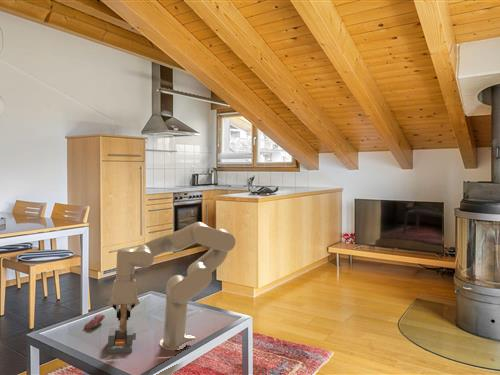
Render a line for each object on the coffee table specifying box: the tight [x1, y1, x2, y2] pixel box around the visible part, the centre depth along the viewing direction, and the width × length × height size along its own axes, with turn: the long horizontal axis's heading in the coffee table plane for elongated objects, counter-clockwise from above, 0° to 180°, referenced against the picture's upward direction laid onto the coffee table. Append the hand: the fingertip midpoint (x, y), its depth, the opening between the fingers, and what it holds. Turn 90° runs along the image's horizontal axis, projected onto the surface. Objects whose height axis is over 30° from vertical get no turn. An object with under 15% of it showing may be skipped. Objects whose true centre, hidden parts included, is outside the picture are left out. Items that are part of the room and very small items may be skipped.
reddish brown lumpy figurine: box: [83, 313, 105, 330], centre depth 189 cm, size 10×5×7 cm
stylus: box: [118, 304, 128, 333], centre depth 169 cm, size 3×3×14 cm
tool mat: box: [133, 332, 137, 341], centre depth 180 cm, size 7×7×1 cm
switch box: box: [106, 326, 134, 354], centre depth 170 cm, size 10×10×7 cm
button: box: [114, 338, 126, 346], centre depth 170 cm, size 4×4×2 cm
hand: (123, 318), depth 169 cm, fingers closed on stylus, 3 cm apart
